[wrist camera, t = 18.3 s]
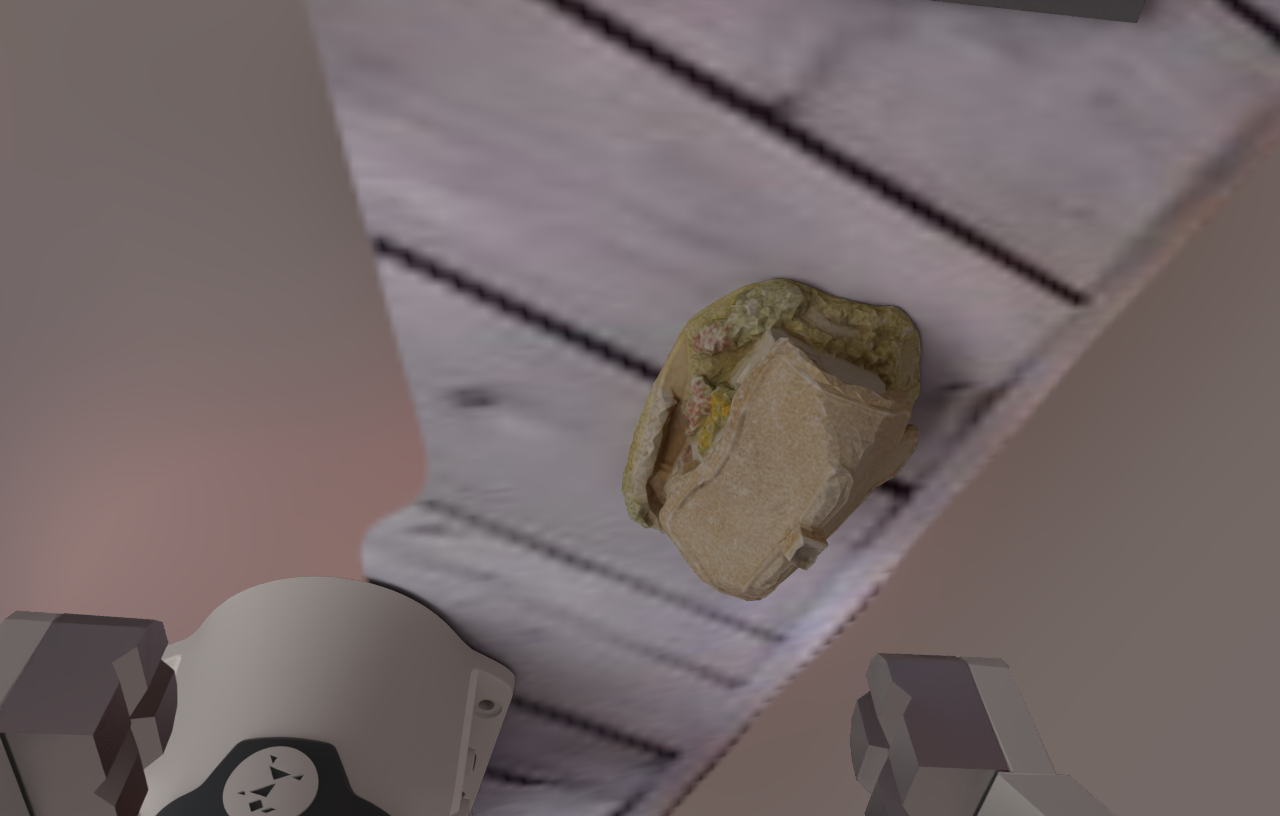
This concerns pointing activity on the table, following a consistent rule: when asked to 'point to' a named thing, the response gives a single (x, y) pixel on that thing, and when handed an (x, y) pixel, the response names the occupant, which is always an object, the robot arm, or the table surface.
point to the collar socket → (1070, 7)
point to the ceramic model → (772, 430)
